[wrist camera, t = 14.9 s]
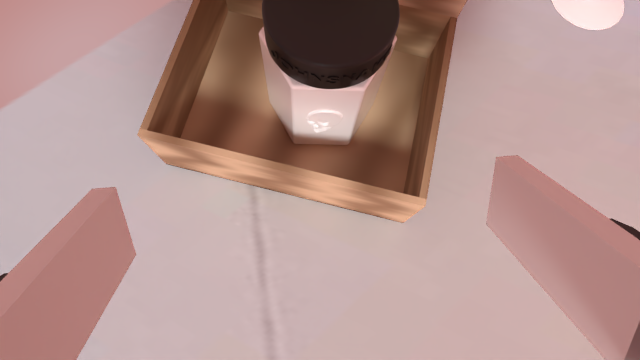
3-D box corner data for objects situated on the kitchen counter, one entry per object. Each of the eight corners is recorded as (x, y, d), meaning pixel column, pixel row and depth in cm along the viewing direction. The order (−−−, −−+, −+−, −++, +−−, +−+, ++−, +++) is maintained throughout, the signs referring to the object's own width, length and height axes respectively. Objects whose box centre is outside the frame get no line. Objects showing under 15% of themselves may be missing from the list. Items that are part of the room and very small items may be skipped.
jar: (267, 146, 33) (249, 65, 21) (271, 61, 35) (257, -53, 24) (374, 149, 33) (412, 70, 22) (371, 64, 36) (404, -47, 24)
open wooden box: (166, 163, 33) (-81, -83, 12) (225, 8, 37) (127, -371, 16) (403, 222, 32) (598, 77, 11) (433, 57, 37) (611, -267, 16)
